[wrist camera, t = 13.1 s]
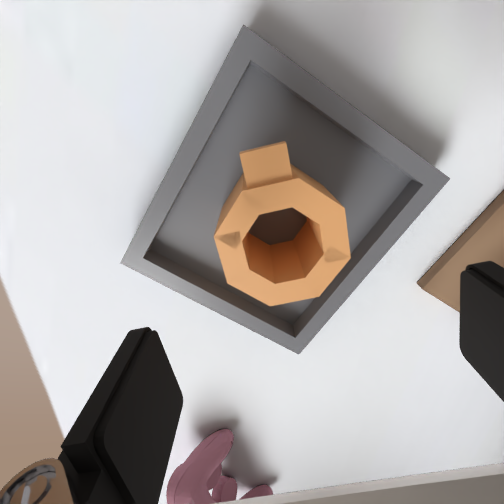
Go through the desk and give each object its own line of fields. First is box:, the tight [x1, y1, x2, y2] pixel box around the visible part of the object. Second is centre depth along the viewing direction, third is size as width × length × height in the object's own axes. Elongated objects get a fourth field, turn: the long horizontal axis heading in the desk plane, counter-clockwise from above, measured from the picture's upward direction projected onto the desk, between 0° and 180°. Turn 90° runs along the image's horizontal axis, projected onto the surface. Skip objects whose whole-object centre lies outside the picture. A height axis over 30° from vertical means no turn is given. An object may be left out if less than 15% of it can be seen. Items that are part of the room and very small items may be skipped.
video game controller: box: [166, 429, 273, 504], centre depth 28 cm, size 10×5×7 cm, turn 25°
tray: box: [121, 25, 450, 354], centre depth 19 cm, size 13×14×2 cm
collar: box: [214, 141, 351, 306], centre depth 17 cm, size 6×8×5 cm
